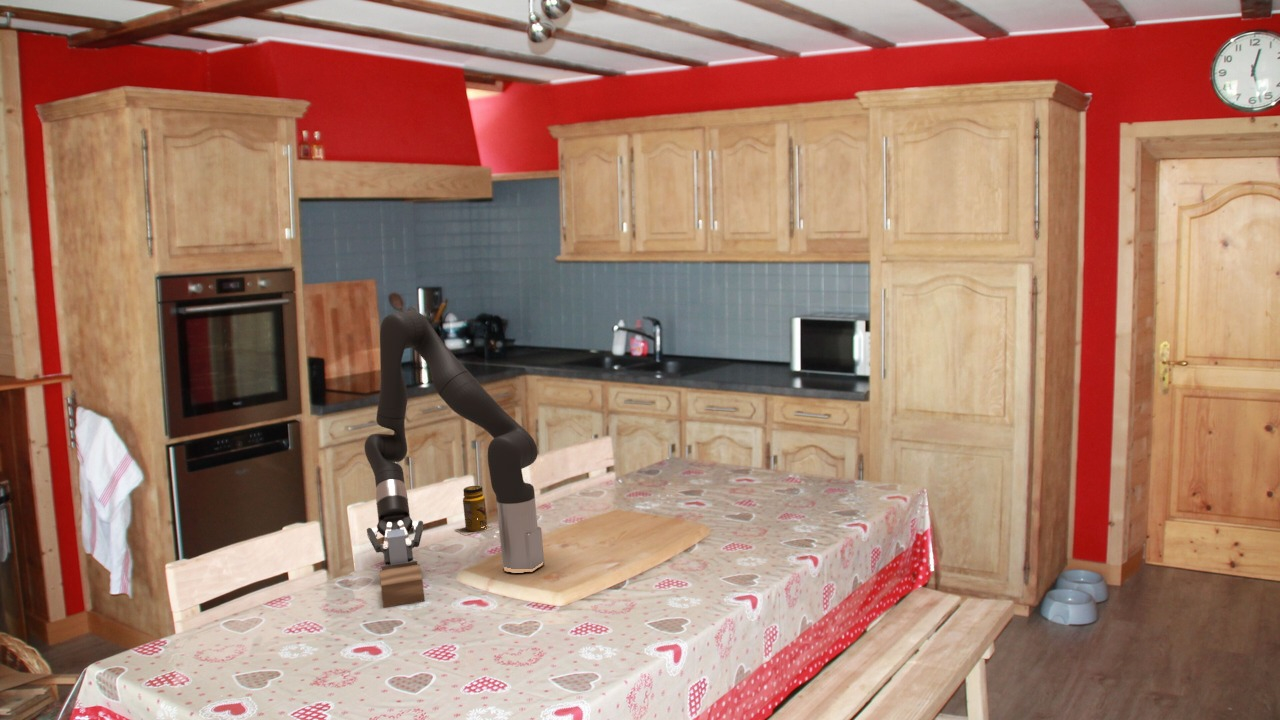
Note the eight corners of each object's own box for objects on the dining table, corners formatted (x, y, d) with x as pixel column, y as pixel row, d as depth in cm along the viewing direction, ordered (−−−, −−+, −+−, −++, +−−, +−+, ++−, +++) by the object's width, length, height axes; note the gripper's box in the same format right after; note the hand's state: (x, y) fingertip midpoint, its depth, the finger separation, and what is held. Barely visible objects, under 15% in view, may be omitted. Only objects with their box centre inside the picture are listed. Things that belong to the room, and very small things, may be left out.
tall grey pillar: (392, 578, 252) (386, 530, 251) (408, 576, 253) (403, 528, 252) (393, 587, 246) (387, 538, 244) (410, 584, 247) (405, 535, 245)
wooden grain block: (381, 580, 251) (378, 557, 250) (419, 575, 253) (416, 551, 253) (383, 607, 232) (380, 582, 231) (424, 600, 234) (421, 575, 234)
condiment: (493, 529, 290) (489, 487, 289) (465, 535, 285) (460, 493, 284) (482, 524, 296) (477, 483, 295) (454, 530, 291) (450, 488, 290)
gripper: (361, 498, 253) (367, 560, 242) (421, 490, 256) (429, 551, 246) (363, 514, 258) (369, 576, 248) (422, 506, 262) (430, 566, 252)
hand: (399, 563), depth 247 cm, fingers closed on tall grey pillar, 4 cm apart
